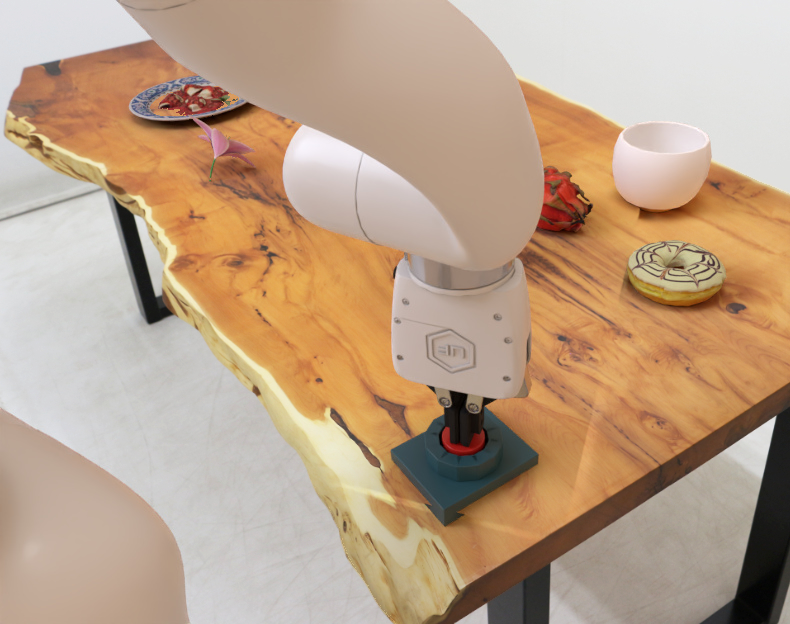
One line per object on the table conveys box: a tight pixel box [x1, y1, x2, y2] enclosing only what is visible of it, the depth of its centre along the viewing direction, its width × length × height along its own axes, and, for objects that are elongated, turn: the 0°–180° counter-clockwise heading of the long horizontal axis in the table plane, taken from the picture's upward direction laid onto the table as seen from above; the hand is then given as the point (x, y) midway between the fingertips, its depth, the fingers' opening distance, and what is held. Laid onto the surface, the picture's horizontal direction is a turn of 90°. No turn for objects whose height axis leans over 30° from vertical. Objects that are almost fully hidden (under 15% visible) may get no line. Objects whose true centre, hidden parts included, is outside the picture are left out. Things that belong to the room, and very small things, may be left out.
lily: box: [188, 115, 257, 182], centre depth 115 cm, size 12×12×10 cm
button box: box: [390, 406, 540, 527], centre depth 62 cm, size 10×8×4 cm
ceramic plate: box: [128, 75, 248, 122], centre depth 143 cm, size 26×26×3 cm
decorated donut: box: [626, 239, 728, 307], centre depth 82 cm, size 10×11×4 cm
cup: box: [611, 120, 713, 213], centre depth 96 cm, size 12×12×10 cm
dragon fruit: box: [537, 165, 594, 233], centre depth 93 cm, size 8×8×12 cm
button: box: [442, 427, 485, 456], centre depth 61 cm, size 4×4×2 cm
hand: (464, 433), depth 60 cm, fingers closed
